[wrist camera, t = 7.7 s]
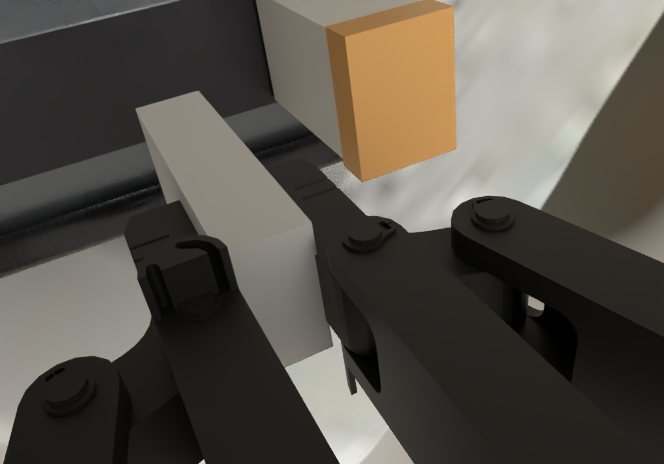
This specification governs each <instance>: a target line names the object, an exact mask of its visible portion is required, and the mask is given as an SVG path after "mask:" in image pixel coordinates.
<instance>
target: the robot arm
mask: <svg viewBox="0 0 664 464" xmlns="http://www.w3.org/2000/svg"><path fill="white" fill-rule="evenodd" d="M136 112H137V115H138V118H139V121H140V124H141V127H142V130H143V133H144V136H145V139H146V142H147V145H148V148H149V151H150V154H151V157H152V160H153V163H154V166H155V169H156V172H157V175H158V178H159V181H160V184H161V187H162V190H163V193H164V196H165V199H166V202H167V204H166V205H163V206H160V207H157V208H154V209H151V210H148V211H145V212H142V213H139V214H136V215H133V216H130V217H129V220H128V223H127V226H126V229H125V231H124V235H125V238H126V241H127V244H128V247H129V249H130V252H131V255H132V258H133V261H134V263H135V266H136V269H137V272H138V275H137V279H138V282H139V284H140V287H141V289H142V292H143V294H144V297H145V299H146V302H147V304H148V307H149V310H150V312H151V315H152V317H151V322H150V326H149V328H148V329H147V331H146V333H145V335H144V336H143V337H142V338H141V340H140V341H139V342H138V343H137V344H136V345H135V346H134V347H133V348H131V349H130V350H129V351H128V352H126V353H125V354H124V355H122V356H121V357H119V358H118V359H116V360H115V361H113V362H112V363H111V362H110V361H109V360H108V359H104V358H100V357H96V356H88V357H78V358H74V359H71V360H68V361H66V362H63V363H60V364H57V365H56V366H54V367H53V368H51V369H49V370H48V371H46V372H45V373H43V374H42V375H40V376H39V377H38V378H37V379H36V380H35V381H34V382H33V383H32V384H31V385H30V387H29V388H28V389H27V390H26V391H25V393H24V395H23V397H22V399H21V401H20V403H19V405H18V409H17V413H16V417H15V420H14V424H13V428H12V432H11V436H10V440H9V444H8V447H7V452H6V455H5V459H4V463H3V464H199V463H200V462H201V461H202V460H203V459H204V460H205V463H206V464H340V463H339V462H338V460H337V458H336V456H335V455H334V453H333V451H332V449H331V448H330V446H329V444H328V443H327V441H326V439H325V437H324V436H323V434H322V432H321V430H320V429H319V427H318V425H317V423H316V422H315V420H314V418H313V416H312V415H311V413H310V411H309V410H308V408H307V406H306V404H305V403H304V401H303V399H302V397H301V396H300V394H299V392H298V390H297V389H296V387H295V385H294V384H293V382H292V380H291V378H290V377H289V375H288V373H287V371H286V370H285V367H287V366H289V365H292V364H294V363H296V362H298V361H301V360H303V359H305V358H307V357H310V356H312V355H314V354H317V353H319V352H321V351H323V350H326V349H328V348H330V347H332V346H333V343H332V337H331V331H330V326H331V327H332V329H333V330H334V332H335V333H336V334H337V336H338V337H339V339H340V340H341V345H342V351H343V357H344V363H345V369H346V376H347V382H348V386H349V389H350V392H351V395H353V394H355V393H357V388H356V381H355V378H356V380H357V381H358V383H359V384H360V385H361V387H362V388H363V390H364V391H365V393H366V394H367V396H368V397H369V399H370V400H371V401H372V403H373V404H374V406H375V407H376V409H377V410H378V412H379V413H380V415H381V416H382V417H383V419H384V420H385V422H386V423H387V425H388V426H389V428H390V429H391V431H392V432H393V433H394V435H395V436H396V438H397V439H398V441H399V442H400V444H401V445H402V446H403V448H404V449H405V451H406V452H407V454H408V455H409V457H410V458H411V460H412V461H413V463H414V464H664V263H662V262H660V261H658V260H655V259H653V258H651V257H648V256H646V255H644V254H641V253H639V252H637V251H634V250H632V249H630V248H627V247H625V246H622V245H620V244H618V243H616V242H613V241H611V240H609V239H606V238H604V237H601V236H599V235H597V234H595V233H592V232H590V231H587V230H585V229H583V228H580V227H578V226H576V225H573V224H571V223H569V222H566V221H564V220H562V219H559V218H557V217H555V216H552V215H550V214H548V213H545V212H543V211H541V210H538V209H536V208H534V207H531V206H529V205H527V204H524V203H522V202H520V201H517V200H513V199H510V198H506V197H500V196H483V197H478V198H473V199H470V200H468V201H466V202H463V203H461V204H460V205H459V206H458V207H457V208H456V209H455V210H454V211H453V214H452V218H451V227H450V228H444V229H437V230H431V231H425V232H415V233H408V232H407V231H406V230H405V229H404V228H403V227H402V226H401V225H399V224H398V223H396V222H394V221H393V220H391V219H388V218H383V217H379V216H366V215H365V214H364V213H363V212H362V211H361V210H360V209H359V208H358V207H357V206H356V205H355V204H354V203H353V202H352V201H351V200H350V199H349V198H348V197H347V196H346V195H345V194H344V193H343V192H342V191H341V190H340V189H339V188H337V187H336V185H335V184H334V183H333V182H332V181H331V180H330V179H327V176H326V175H325V174H324V173H323V172H322V171H321V170H319V169H318V168H317V167H316V166H315V165H313V164H310V163H307V162H304V161H302V160H299V159H293V160H290V161H287V162H284V163H281V164H278V165H275V166H272V167H269V168H267V169H265V167H264V166H263V165H262V164H261V163H260V162H259V160H258V159H257V158H256V157H255V156H254V155H253V153H252V152H251V151H250V150H249V149H248V148H247V147H246V145H245V144H244V143H243V142H242V141H241V140H240V138H239V137H238V136H237V135H236V134H235V133H234V131H233V130H232V129H231V128H230V127H229V126H228V124H227V123H226V122H225V121H224V120H223V119H222V117H221V116H220V115H219V114H218V113H217V112H216V110H215V109H214V108H213V107H212V106H211V105H210V104H209V102H208V101H207V100H206V99H205V98H204V97H203V95H202V94H201V93H200V92H199V91H195V92H191V93H188V94H185V95H181V96H178V97H174V98H171V99H167V100H164V101H160V102H157V103H153V104H150V105H146V106H143V107H140V108H136ZM529 295H530V296H531V297H533V298H535V299H537V300H539V301H541V302H543V303H544V304H545V305H544V310H537V309H535V308H532V307H530V306H529V305H528V297H529ZM329 325H330V326H329Z"/></svg>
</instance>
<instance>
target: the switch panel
mask: <svg viewBox="0 0 664 464" xmlns="http://www.w3.org/2000/svg"><path fill="white" fill-rule="evenodd" d="M195 91H199V92H200V93H201V94H202V95H203V97H204V98H205V99H206V100H207V101H208V102H209V104H210V105H211V106H212V107H213V108H214V109H215V110H216V112H217V113H218V114H219V115H220V116H221V117H222V119H223V120H224V121H225V122H226V123H227V124H228V126H229V127H230V128H231V129H232V130H233V131H234V133H235V134H236V135H237V136H238V137H239V138H240V140H241V141H242V142H243V143H244V144H245V145H246V147H247V148H248V149H249V150H250V151H251V152H252V153H253V155H254V156H255V157H256V158H257V159H258V160H259V162H260V163H261V164H262V165H263V166H264V167H265V169H267V168H269V167H272V166H275V165H278V164H281V163H284V162H287V161H290V160H293V159H299V160H302V161H304V162H307V163H310V164H313V165H315V166H316V167H317V168H318V169H321V168H324V167H327V166H330V165H333V164H336V163H339V162H342V161H343V159H342V158H341V157H340V156H339V155H338V154H337V153H336V152H334V151H333V150H332V149H331V148H330V147H329V146H328V145H326V144H325V143H324V142H323V141H322V140H321V139H320V138H318V137H317V136H316V135H315V134H314V133H313V132H312V131H310V130H309V129H308V128H307V127H306V126H305V125H303V124H302V123H301V122H300V121H299V120H298V119H297V118H295V117H294V116H293V115H292V114H291V113H290V112H289V111H287V110H286V109H285V108H284V107H283V106H282V105H281V104H279V103H278V102H277V101H276V100H275V97H274V91H273V86H272V81H271V76H270V71H269V66H268V61H267V55H266V50H265V45H264V40H263V35H262V30H261V25H260V19H259V14H258V9H257V4H256V0H0V278H3V277H6V276H8V275H11V274H14V273H17V272H20V271H23V270H26V269H29V268H32V267H35V266H38V265H41V264H44V263H46V262H49V261H52V260H55V259H58V258H61V257H64V256H67V255H70V254H73V253H76V252H79V251H82V250H84V249H87V248H90V247H93V246H96V245H99V244H102V243H105V242H108V241H111V240H114V239H117V238H120V237H123V236H125V235H124V231H125V229H126V226H127V223H128V220H129V217H130V216H133V215H136V214H139V213H142V212H145V211H148V210H151V209H154V208H157V207H160V206H163V205H166V204H167V202H166V199H165V196H164V193H163V190H162V187H161V184H160V181H159V178H158V175H157V172H156V169H155V166H154V163H153V160H152V157H151V154H150V151H149V148H148V145H147V142H146V139H145V136H144V133H143V130H142V127H141V124H140V121H139V118H138V115H137V112H136V108H140V107H143V106H146V105H150V104H153V103H157V102H160V101H164V100H167V99H171V98H174V97H178V96H181V95H185V94H188V93H191V92H195Z"/></svg>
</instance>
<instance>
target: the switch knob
mask: <svg viewBox="0 0 664 464" xmlns="http://www.w3.org/2000/svg"><path fill="white" fill-rule="evenodd" d="M256 4H257V9H258V14H259V19H260V25H261V30H262V35H263V40H264V45H265V50H266V55H267V61H268V66H269V71H270V76H271V81H272V86H273V91H274V97H275V100H276V101H277V102H278V103H279V104H281V105H282V106H283V107H284V108H285V109H286V110H287V111H289V112H290V113H291V114H292V115H293V116H294V117H295V118H297V119H298V120H299V121H300V122H301V123H302V124H303V125H305V126H306V127H307V128H308V129H309V130H310V131H312V132H313V133H314V134H315V135H316V136H317V137H318V138H320V139H321V140H322V141H323V142H324V143H325V144H326V145H328V146H329V147H330V148H331V149H332V150H333V151H334V152H336V153H337V154H338V155H339V156H340V157H341V158H342V159H343V161H344V166H345V167H346V168H347V169H348V170H349V171H350V172H351V173H352V174H354V175H355V176H356V177H357V178H358V179H359V180H360V181H361V182H365V181H368V180H370V179H373V178H376V177H379V176H382V175H384V174H387V173H390V172H393V171H396V170H398V169H401V168H404V167H407V166H410V165H412V164H415V163H418V162H421V161H424V160H426V159H429V158H432V157H435V156H438V155H441V154H443V153H446V152H449V151H452V150H455V149H456V107H455V57H454V7H453V6H450V5H447V4H444V3H441V2H438V1H435V0H422V1H418V0H256Z"/></svg>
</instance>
